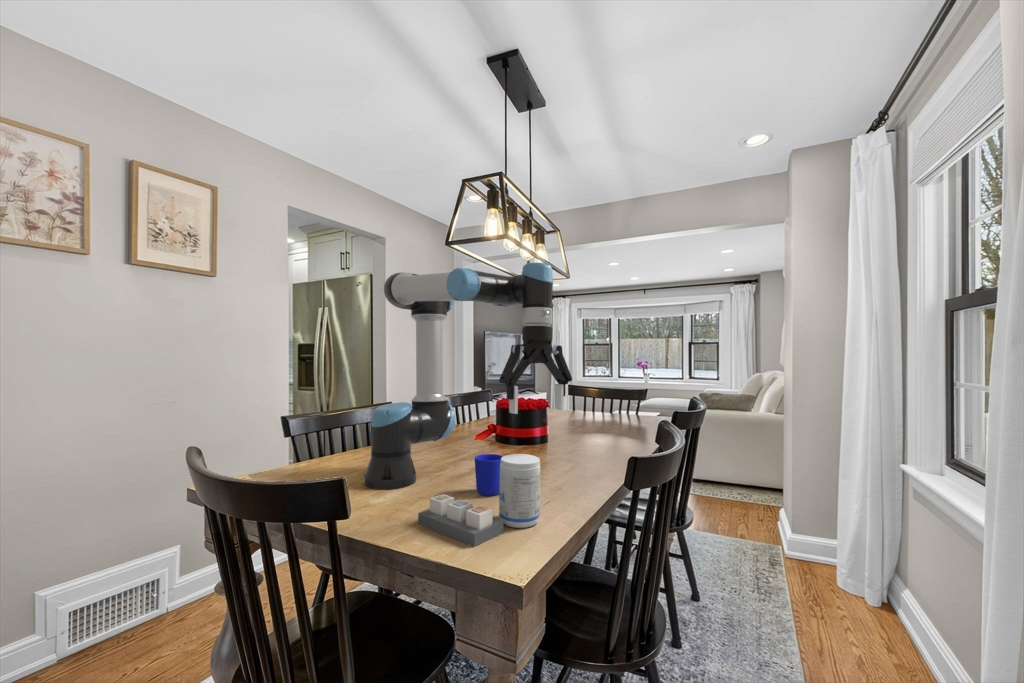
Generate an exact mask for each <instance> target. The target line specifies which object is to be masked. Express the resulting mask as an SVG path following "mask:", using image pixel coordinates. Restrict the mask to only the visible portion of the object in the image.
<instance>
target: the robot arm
mask: <svg viewBox="0 0 1024 683" xmlns="http://www.w3.org/2000/svg"><path fill="white" fill-rule="evenodd" d="M553 278H554V277H553V267H552V266H551V265H550V264H549V263H546V262H529V263H525V264H524V265H523V266H522V271H521V274H519V275H512V276H510V275H509V276H508V275H507V276H506V275H502V274H497V273H490V272H484V271H478V270H474V269H471V268H463V267H462V268H461V267H457V268H454V269H452V271H448V272H447V271H446V272H439V273H438V272H437V273H428V274H427V273H424V274H417V273H411V272H396V273H393V274H391V275H390V276H389V277H388V278H387V279H386V280H385V283H384V285H383V293H384V296H385V298H386V300H387V301H388V302H389V303H390V305H392V306H394V307H396V308H399V309H401V310H410V312H411V313H410V315H411V316H410V317H411V318H412V319H413V320H414V321H415V353H416V355H415V360H416V361H415V364H416V365H415V371H416V373H415V374H416V376H415V378H416V379H415V380H416V382H415V383H416V388H415V389H416V390H415V391H416V393H415V395H414V397H413V398H412V399H411V403H410V402H405V401H404V402H403V401H402V402H401V401H400V402H393V403H386V404H383V405H380V406H377V407H376V408H375V409H373V411H372V413H371V414H372V415H371V423H370V426H371V439H370V442H371V443H370V444H371V446H370V460H369V462H368V466H367V469H366V471H365V474H364V485H365V487H367V488H370V489H375V490H393V489H400V488H401V489H402V488H406V487H409V486H411V485H413V484H415V483H416V481H417V471H416V468H415V465H414V461H413V457H412V453H411V452H412V448H411V447H412V445H413V444H420V443H426V442H437V441H439V440H442V439H443V440H444V439H446V438H448V437H449V436H450V435H451V433H452V432H453V430H454V428H455V424H456V413H455V410H454V407H453V406H452V405H451V404H450V403H448V401H449V400H448V397H447V396H445V395H444V378H443V377H444V376H443V375H444V374H443V372H444V369H443V367H444V365H443V364H444V363H443V362H444V361H443V355H444V354H443V348H444V347H443V322H444V320H445V319H447V316H448V312H450V311H451V310H452V308H453V305H454V303H455V302H477V303H478V302H479V303H487V304H492V305H493V306H496V307H505V308H506V307H509V306H515V305H522V306H521V307H522V311H521V312H522V314H521V315H522V316H521V322H522V323H521V324H523V325H524V326H522V330H521V333H522V335H521V339H522V345H520V344H512V345H511V346H510V354H509V356H508V359H507V361H506V363H505V366H504V367H503V370H502V372H501V375H500V377H499V381H498V382H499V383H501V384H503V385H504V386H505V387H506V399H507V400H508V406H509V407H508V409H509V410H508V413H510V414H515V415H518V414H519V413H518V410H519V405H518V404H519V401H518V399H519V394H518V393H519V388H518V387H519V386H517V385H516V384H517V382H518V380H520V378H521V377H522V375H524V373H525V371H526V370H527V368H528V367H529V366H530V365H531V364H542V365H545V367H546V368H547V369H548V371H549V372H550V374H551V375H552V377H553V379H555V381H556V383H554V410H557V411H564V397H566V385H569V382H573V377H572V374H571V372H570V369H569V367H568V364H567V362H566V359H565V357H564V355H563V347H562V345H552V341H553V327H552V326H551V325H552V324H553V292H554V291H553V287H554V286H553V285H554V279H553ZM521 354H523V356H522V357H521V358H520V355H521ZM551 354H552V355H553V357H552V356H551ZM519 358H520V360H519ZM553 358H554V359H553ZM518 360H519V363H518ZM517 363H518V364H517ZM516 365H517V366H516Z"/></svg>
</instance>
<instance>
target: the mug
mask: <svg viewBox="0 0 1024 683" xmlns="http://www.w3.org/2000/svg"><path fill="white" fill-rule="evenodd" d="M503 456H504V455H500V454H495V453H483V454H479V455H476V456H475V457H474V468H475V469H474V470H475V471H474V472H475V485H476V486H475V488H476V491H477V493H478V494H479V495H480V496H481V495H482V496H485V497H489V496H492V497H493V496H496V495H499V491H500V463H501V458H502V457H503Z"/></svg>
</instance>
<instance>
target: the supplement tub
mask: <svg viewBox="0 0 1024 683" xmlns="http://www.w3.org/2000/svg"><path fill="white" fill-rule="evenodd" d="M502 456H503V457H502V458H501V463H500V491H499V493H498V495H499V496H498V497H499V498H498V499H499V500H498V501H499V503H498V504H499V505H498V506H499V508H498V509H499V510H498V518H499V519H498V520H501V521H503V525H505V526H507V527H510V528H515V529H525V528H530V527H534V526H536V525H537V524H538V523H539V521H540V511H541V510H540V509H541V507H540V506H541V503H540V502H541V462H540V461H541V460H540V458H539V457H537V456H535V455H533V454H526V453H511V454H506V455H502Z"/></svg>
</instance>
